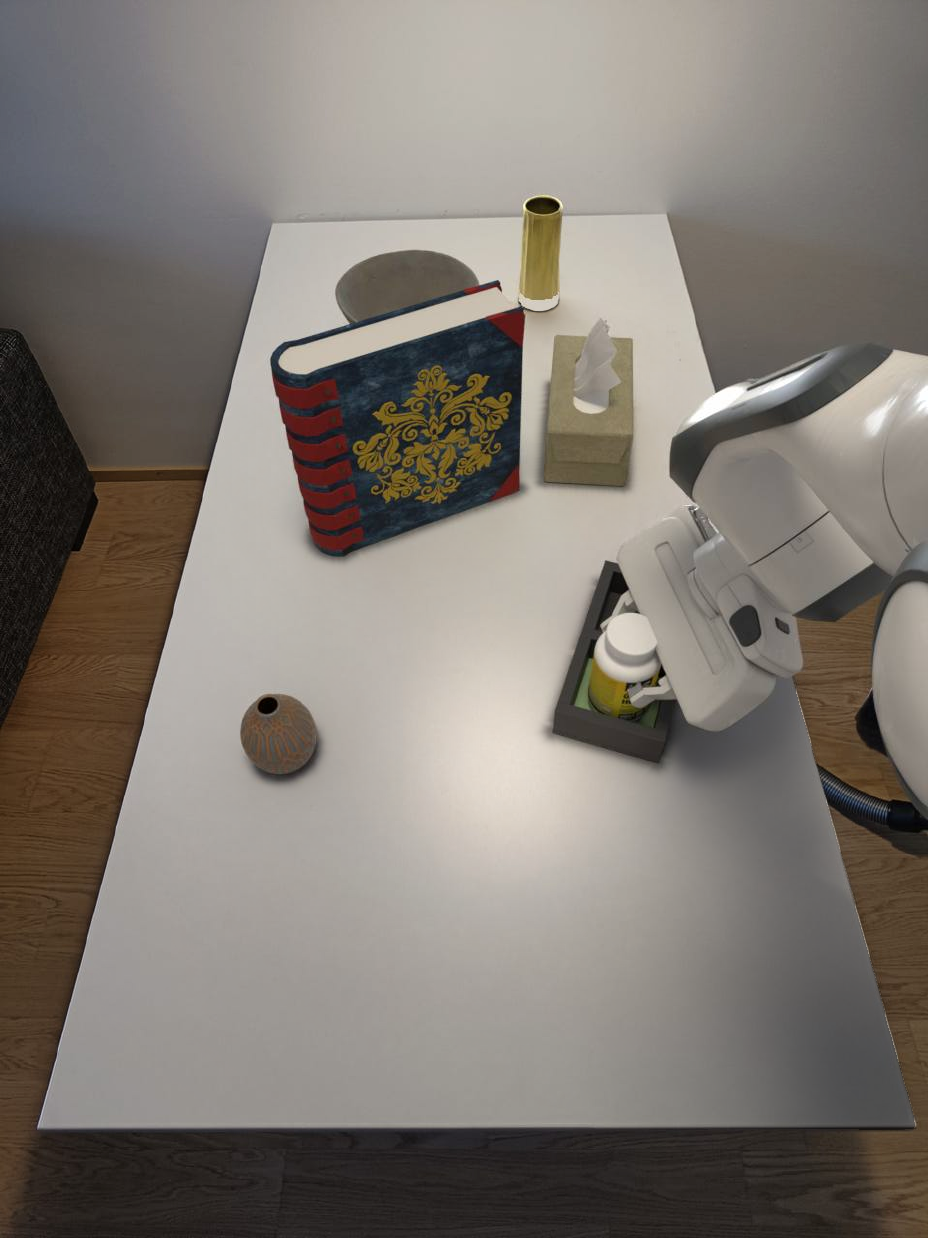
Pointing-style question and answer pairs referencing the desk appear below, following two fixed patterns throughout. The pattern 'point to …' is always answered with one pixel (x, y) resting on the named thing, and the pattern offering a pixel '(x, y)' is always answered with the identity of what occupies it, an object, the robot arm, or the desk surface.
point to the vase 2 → (540, 248)
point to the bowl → (399, 282)
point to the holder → (573, 702)
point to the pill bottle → (623, 666)
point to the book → (404, 415)
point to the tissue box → (590, 409)
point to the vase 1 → (278, 733)
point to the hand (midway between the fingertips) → (619, 666)
